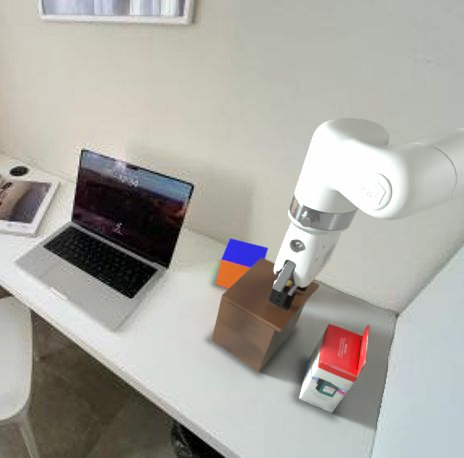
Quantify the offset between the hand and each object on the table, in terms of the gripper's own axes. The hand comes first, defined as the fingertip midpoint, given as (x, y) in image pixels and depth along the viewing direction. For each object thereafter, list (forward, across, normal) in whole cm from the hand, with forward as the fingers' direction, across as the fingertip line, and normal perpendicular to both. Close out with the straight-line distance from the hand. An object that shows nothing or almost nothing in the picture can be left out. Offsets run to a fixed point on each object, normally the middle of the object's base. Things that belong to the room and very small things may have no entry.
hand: (287, 295), depth 61 cm
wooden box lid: (+2, 0, +3) cm, 3 cm away
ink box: (+15, -2, -10) cm, 18 cm away
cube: (+15, +12, +13) cm, 23 cm away
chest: (+14, 0, +3) cm, 15 cm away
